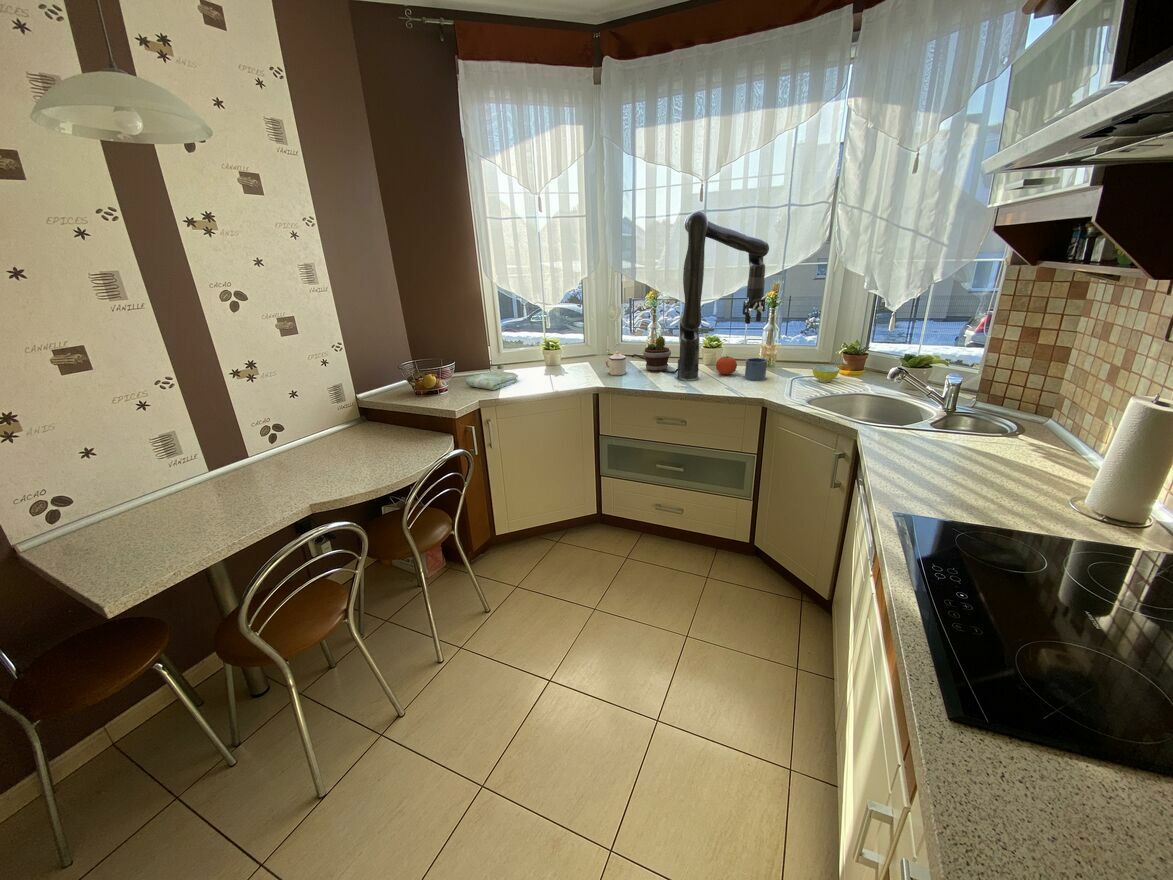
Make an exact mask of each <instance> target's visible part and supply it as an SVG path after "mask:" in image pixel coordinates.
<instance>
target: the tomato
mask: <svg viewBox="0 0 1173 880" xmlns="http://www.w3.org/2000/svg"><path fill="white" fill-rule="evenodd" d="M737 367H738V362H737V360H736V359H735V358H734V357H732V356H728V355H726V356H721V357H719V358H718V360H716V363H715V368H716V371H717V372H718V373H719V374H721V375H725V376H727V375H731V374H733V373H734V372H736V370H737Z"/></svg>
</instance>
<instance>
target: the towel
mask: <svg viewBox="0 0 1173 880" xmlns="http://www.w3.org/2000/svg"><path fill="white" fill-rule="evenodd" d="M518 377H519V375H518V374H517V373H515V372H510V371H504V370H503V371H502V370H501V371H499V370H498V371H494V370H493V371H488V372H485V373H479V374H475V375H471V376H469V377H467V378H466V380H465V384H466V385H467V386H469V387H472V388H473V387H474V388H478V389H485V390H490V391H495V390H499V389H501V388H504V387H506V386H509V385H513V384H514V383H517V382H518V380H519V379H518Z"/></svg>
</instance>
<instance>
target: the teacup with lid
mask: <svg viewBox="0 0 1173 880" xmlns="http://www.w3.org/2000/svg"><path fill="white" fill-rule="evenodd" d="M608 362H609V363H608ZM605 366H606V368H608V369H609V374H610V376H624V375H626V374H627V356H626V355H624V354H622V353H620V351H615V353H613V354H612V355H610V356H609V357H608V359H606V360H605Z"/></svg>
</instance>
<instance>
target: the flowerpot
mask: <svg viewBox="0 0 1173 880" xmlns="http://www.w3.org/2000/svg"><path fill="white" fill-rule="evenodd" d="M666 343H667V339H666V338H665V336H664V335H662V334H661V335H658V336H657V337H655V339H654V342H650V343H648V344H647V347H645V348H644V350H643V352H642V356H643V357H645V359H644V360H645V363H646V364H645V368H646V369H647V371H649V372H651V373H652V372H653V373H660V372H663V371H662V370H667V369H668V367H669V363H668V362H669V358H670V356H671V354H672V351H671V350H670V348H669V347H668V346H667V347H666Z"/></svg>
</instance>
